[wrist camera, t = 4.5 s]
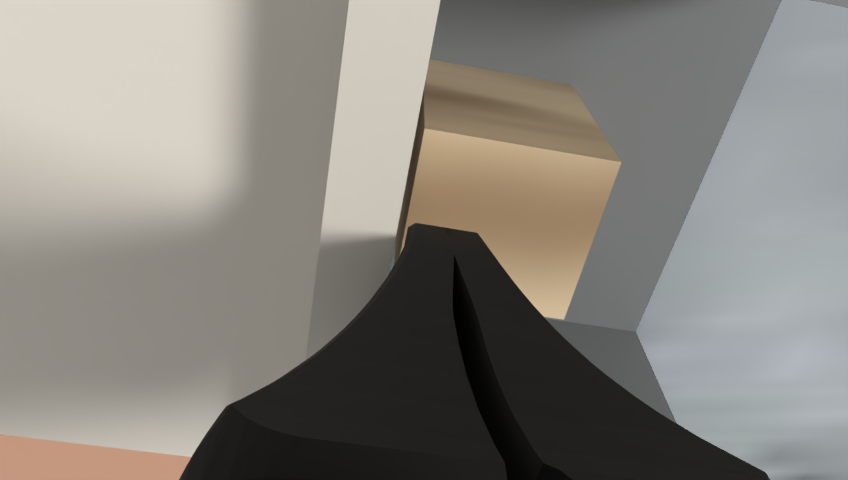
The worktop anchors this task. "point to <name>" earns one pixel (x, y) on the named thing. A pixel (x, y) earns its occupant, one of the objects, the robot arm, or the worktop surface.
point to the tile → (82, 461)
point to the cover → (191, 201)
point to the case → (624, 131)
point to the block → (511, 174)
